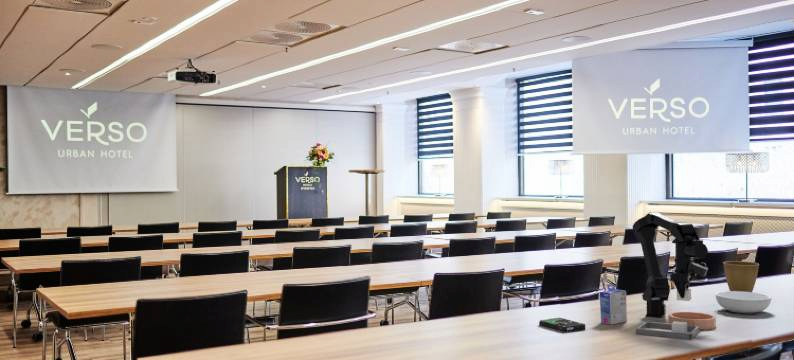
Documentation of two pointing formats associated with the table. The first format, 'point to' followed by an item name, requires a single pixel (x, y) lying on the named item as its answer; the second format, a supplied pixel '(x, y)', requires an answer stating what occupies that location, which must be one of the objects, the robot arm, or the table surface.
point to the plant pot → (741, 275)
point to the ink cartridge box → (613, 306)
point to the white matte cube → (687, 295)
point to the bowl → (693, 319)
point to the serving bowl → (743, 301)
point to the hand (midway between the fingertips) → (683, 297)
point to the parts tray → (643, 330)
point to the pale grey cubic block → (679, 327)
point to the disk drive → (562, 325)
